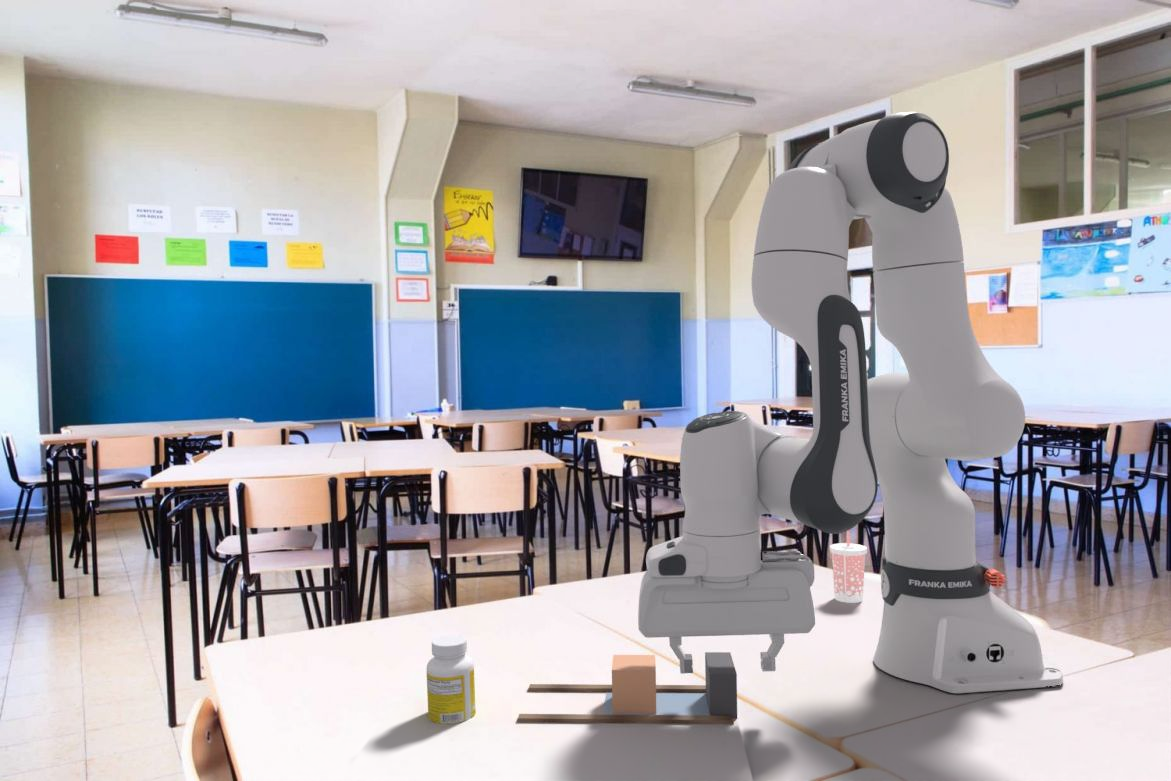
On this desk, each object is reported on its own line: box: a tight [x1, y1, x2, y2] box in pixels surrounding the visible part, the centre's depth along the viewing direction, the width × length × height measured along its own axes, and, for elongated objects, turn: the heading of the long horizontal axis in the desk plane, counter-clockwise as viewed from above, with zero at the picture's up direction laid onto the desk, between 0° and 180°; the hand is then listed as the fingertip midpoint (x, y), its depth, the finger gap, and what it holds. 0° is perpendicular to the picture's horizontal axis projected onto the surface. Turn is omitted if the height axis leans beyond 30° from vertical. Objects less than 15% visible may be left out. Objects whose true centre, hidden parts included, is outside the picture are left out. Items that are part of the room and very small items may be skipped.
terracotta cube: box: [611, 654, 657, 714], centre depth 98 cm, size 5×5×5 cm
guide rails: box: [517, 683, 735, 725], centre depth 98 cm, size 24×10×2 cm, turn 86°
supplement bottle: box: [426, 634, 476, 725], centre depth 97 cm, size 5×5×10 cm
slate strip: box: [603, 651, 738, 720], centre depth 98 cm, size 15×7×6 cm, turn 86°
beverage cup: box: [829, 529, 868, 604], centre depth 143 cm, size 6×6×14 cm
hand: (727, 670), depth 98 cm, fingers open, 8 cm apart
